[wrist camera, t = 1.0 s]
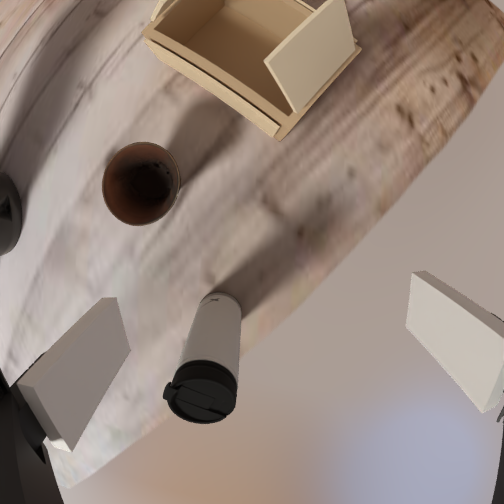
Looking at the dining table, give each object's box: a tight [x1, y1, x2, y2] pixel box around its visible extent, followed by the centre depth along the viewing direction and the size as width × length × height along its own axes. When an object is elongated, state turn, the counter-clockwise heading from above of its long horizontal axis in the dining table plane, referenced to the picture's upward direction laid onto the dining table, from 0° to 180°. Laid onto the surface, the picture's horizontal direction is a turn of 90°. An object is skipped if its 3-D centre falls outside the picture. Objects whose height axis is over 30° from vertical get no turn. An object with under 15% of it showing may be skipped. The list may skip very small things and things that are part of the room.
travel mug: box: [163, 293, 242, 424], centre depth 33 cm, size 6×7×20 cm
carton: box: [141, 0, 362, 141], centre depth 29 cm, size 20×14×10 cm
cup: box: [102, 142, 181, 226], centre depth 34 cm, size 9×9×10 cm
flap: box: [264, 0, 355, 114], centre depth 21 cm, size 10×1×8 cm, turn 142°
